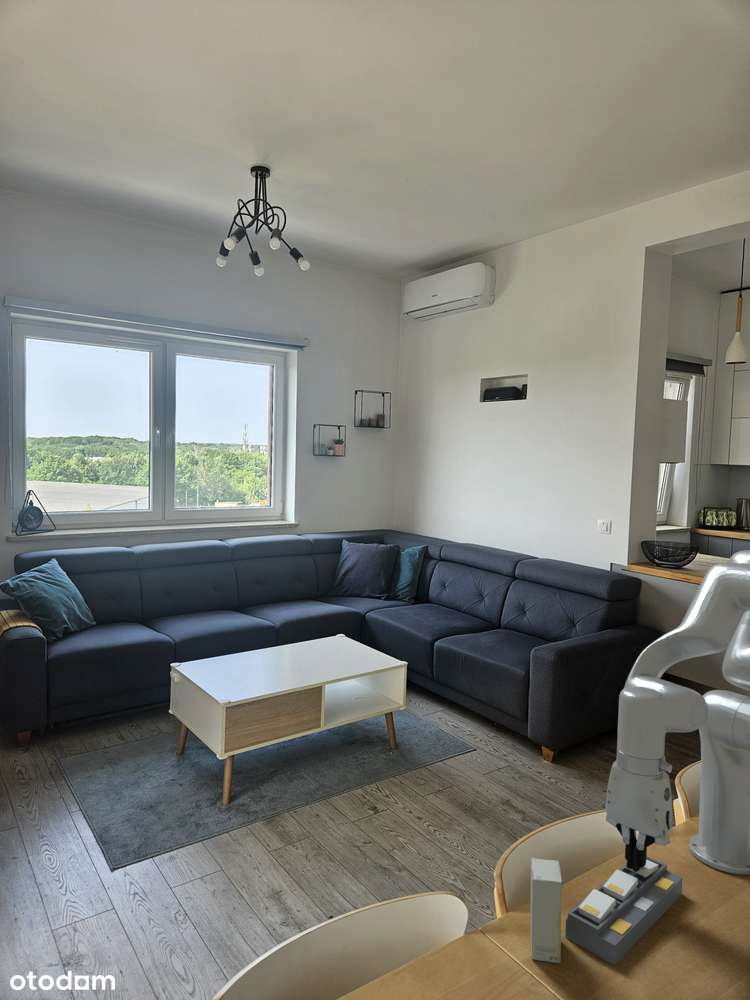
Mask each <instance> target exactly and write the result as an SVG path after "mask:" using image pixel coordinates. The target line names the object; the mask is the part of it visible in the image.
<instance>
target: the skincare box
mask: <svg viewBox="0 0 750 1000" xmlns="http://www.w3.org/2000/svg"><path fill="white" fill-rule="evenodd" d="M561 872H562V871H561V867H560V862H559V860H556V859H549V858H547V859H546V858H540V857H530V910H529V911H530V915H529V917H530V919H529V920H530V922H529V923H530V924H529V925H530V927H529V929H530V932H529V934H530V936H529V937H530V940H529V941H530V957H531V959H532V960H534V961H535V960H536V961H541V962H546V963H547V962H548V963H555V964H561V961H562V960H561V959H562V956H561V955H562V952H561V950H562V947H561V946H562V886H563V885H562V883H563V881H562V873H561Z"/></svg>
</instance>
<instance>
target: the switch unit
mask: <svg viewBox="0 0 750 1000" xmlns="http://www.w3.org/2000/svg"><path fill="white" fill-rule="evenodd" d="M646 859H647V860H649V861H651V862H653V863H656V864H658V870H657V871H656V872H654V873H652V874H651V875H649V876H647V877H644V876H642V875H640V874H637V873H635V872H633V871H631V870H629V869H627V868H625V865H626V863H625V864H624V865H623V866H622V867H620V868H619V869H618V870H620V871H622V872H624V873H626V874H629V875H631V876H633V877H635V878H637V879H638V885H637V886H636V887H635V889H634V890H633V891H632V893H631V894H630V895H629V897H628V898H627V899H626V900H625V901H622V900H620V899H618V898H616V897H614V896H612V895H609V894H607V893H605V892H603V886H604V884H605V883H606V882H607V881H608V880H609V878H608V879H606V880H605V881H604V882H603V883H601V884H600V885H599V886H598V887H597V888H596V890H598V891H600V892H602V893H604V894H606V895H608V896H610V897H612V898H614V899H615V903H616V905H615V906H614V908H613V909H612V910H611V911H610V913H609V914H608V915H607V917H606V918H605V919H604V920H603V922H602V923H601V924H599V923H597V922H595V921H593V920H591V919H590V918H588V917H586V916H584V915H582V914H580V913H579V906H580V905H581V904H582V902H583V901H584V900H585V899H586V898H587V896H586V897H585V898H584V899H583V900H582V901H580V902H579V903H578V904H577V905H576V906H574V908H572V909H571V910H570V911H568V913H567V917H566V918H565V938H566V939H568V940H570V941H571V942H573V943H575V944H576V945H578V946H580V948H583V949H585V950H586V949H587V950H586V951H588V950H589V951H588V952H590V953H592V954H593V953H594V955H595V956H597V957H599V958H600V957H601V958H600V959H602V960H603V961H605V960H606V962H607V963H609V964H610V965H613V966H616V965H617V964H618V962H620V960H621V959H622V958H623V957H624V956H625V955H626V954H627V953H628V952H629V951H630V950H631V949H632V948H633V946H634V945H636V943H637V942H638V941H639V940H640V939H641V938H642V937H643V936H644V935H645V934H646V933H647V932H648V931H649V930H650V929H651V928H652V927H653V925H654V924H655V923H656V922H658V920H659V919H660V918H661V917H662V916H663V915H664V914H665V913H666V912H667V911H668V909H669V908H670V907H672V905H674V903H675V902H676V901H677V900H678V899H679V898H681V896H682V895H683V876H681V875H678V874H677V873H674V872H671V871H669V870H668V869H667V868H668V864H666V863H664V862H661V861H659V860H657V859H654V858H653V857H650V856H648V855H646Z"/></svg>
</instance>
